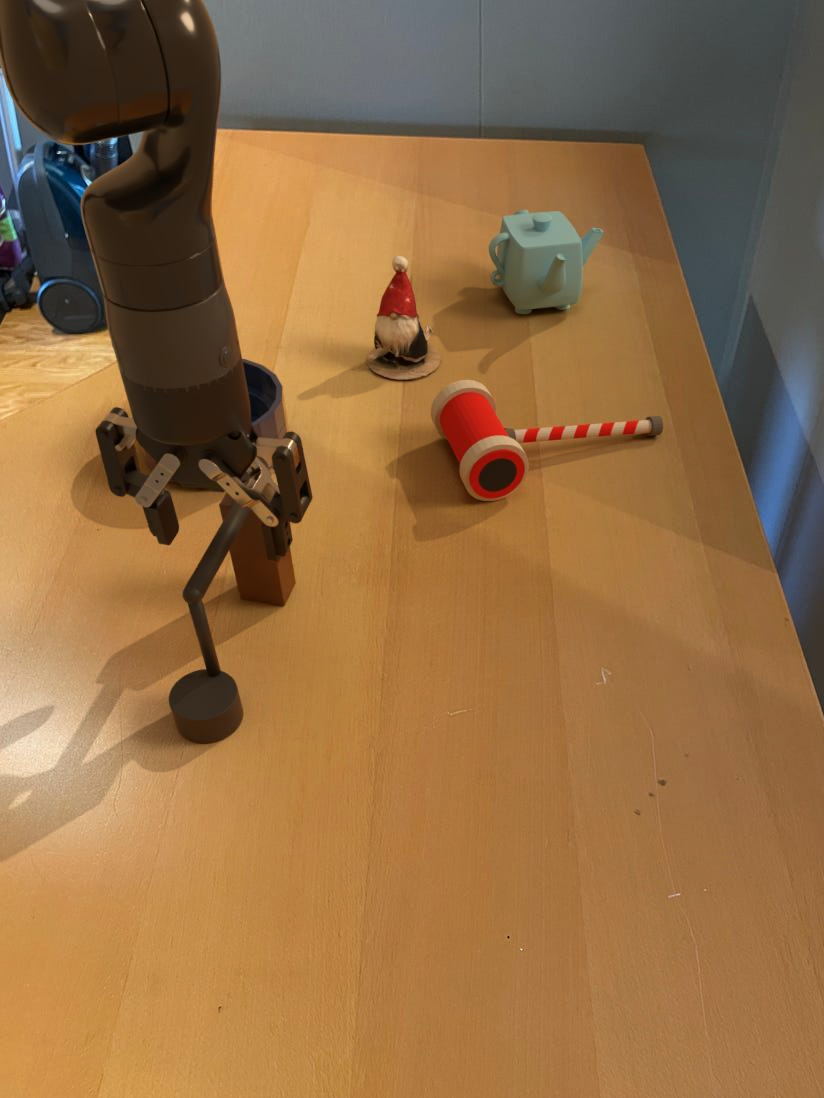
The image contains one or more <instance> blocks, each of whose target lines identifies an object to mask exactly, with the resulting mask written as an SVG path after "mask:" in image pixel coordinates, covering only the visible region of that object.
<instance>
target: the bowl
mask: <svg viewBox="0 0 824 1098" xmlns="http://www.w3.org/2000/svg"><path fill="white" fill-rule="evenodd" d="M242 361H243V366H244V372H245V378H246V383H247V389H248V395H249V400H250V411H251V422H252V425H253V427H254V428H255V430H256V431H257V433H258V434H259V436H260V437H261V438H272V439H282V438H283V436H284V435H285V433H287V432H290V427H289V422H288V421H289V420H288V415H287V413H288V412H287V407H286V400H285V394H284V388H283V387H284V386H283V384H282V383H281V381H280V380H279V377H278V376H277V374H276V373H274V372H273V371H271V369H269V368H267V367H266V366H265V365H263V364H261V363H257V362H255V361H252V360H250V359H246V358H242ZM141 449H142V453H143V456H144V459H145V461H146V464H147V466H148V467H149V468H150V469H151V470H152V471H153V470H154V469H155V467H156V466H157V464H158V463H157V462H156V461H155V460H154V459H153V458H152V457H151V456H150V455H149V454H148V453H147V452H146V451H145V450H144V449H143V448H142V447H141ZM257 457H258V456H257ZM258 458H259V460H260V461H261V462H262V463H263V464H264V465H265V466H266V467H267V468H268V469H269V466H268V464H267V462H266V461H265V460H264V459H263V458H261V457H258ZM248 477H249V474H248V472H247V471H246V472H245V474H244V475H243V476H242V478H241V479H240V481H241V482H244V481H247V479H248ZM169 482H172V483H175V484H178V485H181V483H180V482H178V481H176V480H175V479H173V478H172V477H171V478H170V480H169Z"/></svg>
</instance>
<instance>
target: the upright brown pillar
mask: <svg viewBox="0 0 824 1098" xmlns="http://www.w3.org/2000/svg"><path fill="white" fill-rule="evenodd" d="M242 483H243V482H242ZM243 484H245V482H244V483H243ZM261 494H262V493H261ZM262 497H263V498H264V499H265V500H266V501H267V502H268V503H270V502H269V500H268V499H267V498H266V497H265V496H264V495H263V494H262ZM234 501H235V500H234V499H233V498H232V497H231V496H230V495H229V494H228V493H227V492H225V494H224V496H223V497H222V499H221V501H220V502H219V503H218V504H219V505H218V507H219V511H220V515H221V520H222V521H223V520H224V519H225V517H226V515H227V514H228V512H229V510H230V508H231V507H232V505H233V503H234ZM262 523H263V521H262V520H261V519H260V518H259V517H258V516H257V515H256V514H255V513H254V512H253V511H252V510H251V512H250V514H249V515H248V517H247V519H246V521H245V523H244V525H243V526H242V528H241V530H240V532H239V534H238V535H237V537H236V539H235V541H234V543H233V544H232V546H231V548H230V550H229V555H230V559H231V563H232V569H233V573H234V577H235V582H236V586H237V590H238V595H239V599H240V600H245V601H251V602H257V603H263V604H268V605H269V604H271V605H274V606H275V605H276V606H280V607H281V606H282V607H285V606H286V605H287V602H288V600H289V597H290V596H291V594H292V591H293V590H294V588H295V585H296V583H297V581H296V576H295V575H296V574H295V569H294V563H293V562H294V561H293V556H292V550H291V546H290V547H289V549H288V551H287V553H286V555H285V557H283V556H282V557H281V559H280V561H279V562H278V563H277V562H271V561H268V559H267V553H266V548H265V543H264V537H263V532H262V527H261V525H262Z"/></svg>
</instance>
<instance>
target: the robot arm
mask: <svg viewBox="0 0 824 1098" xmlns="http://www.w3.org/2000/svg"><path fill="white" fill-rule="evenodd" d="M0 69H1V73H2V76H3V79H4V83H5V87H6V89H7V91H8V93H9V96H10V98H11V100H12V101H13V103H14V105H15V107H16V108H17V110H18V111H19V112H20V114H21V115H22V116H23V118H24V119H25V120H27V122H28V123H29V124H30V125H31V126H32V127H34V128H35V129H36V130H38V131H39V132H40V133H42V134H43V135H44V136H46V137H48V138H49V139H51V140H53V141H55V142H58V143H60V144H62V145H67V146H84V145H85V146H86V145H89V144H94V143H100V142H103V141H109V140H112V139H117V138H122V137H126V136H130V135H134V134H138V133H142V135H141V138H140V142H139V144H138V147H137V149H136V151H135V152H134V153H133V154H132V155H131V156H130V157H129V158H128V159H126V160H125V161H124V162H122V163H121V164H119V165H117V166H116V167H114V168H112V169H110V170H109V171H107V172H105V173H104V174H102V175H100V176H98V177H97V178H96V179H95V180H93V181H92V182H91V183H89V185H88V186H86V188H84V189H85V190H84V191H83V193H82V196H81V199H80V215H81V220H82V224H83V228H84V232H85V236H86V240H87V244H88V246H89V250H90V253H91V254H90V255H91V257H92V261H93V265H94V268H95V272H96V275H97V279H98V282H99V287H100V290H101V295H102V298H103V304H104V311H105V320H106V326H107V331H108V335H109V338H110V341H111V346H112V349H113V351H114V357H115V360H116V364H117V367H118V370H119V374H120V377H121V381H122V384H123V388H124V392H125V395H126V399H127V403H128V406H129V409H130V413H131V416H132V417H130V416H129V414H128V413H127V411H126V410H124V409H123V408H122V407H119V406H115V407H112V409H111V410H110V411H109V413H107V414H106V415H105V417H104V418H103V419H102V420H101V421H100V423H99V425H97V427H96V428H95V431H94V433H95V436H96V437H95V438H96V440H97V441H96V442H97V444H98V448H99V452H100V456H101V460H102V463H103V468H104V471H105V476H106V479H107V484H108V488H109V490H110V492H111V493H112V494H113V495H114V496H115V497H120V498H122V497H126V495H127V496H130V497H132V498H134V499H135V502H136V503H137V504H138V505H139V506H141V507H142V510H143V513H144V516H145V520H146V523H147V527H148V529H149V532H150V533H151V535H152V536H153V537H156V539H157V542H158V544H159V545H164V546H170V545H171V544H172V543H173V541H174V540H175V538H176V537H177V535H178V533H179V531H180V523H179V520H178V515H177V511H176V508H175V504H174V501H173V497H172V493H171V490H168V489H165V487H166V485H167V484H168V483H169V482H170V478H171V477H172V478H173V479H175V480H176V481H178V482H180V483H181V484H180V486H181V487H183V488H184V487H185V488H191V489H194V488H196V489H197V488H203V489H206V490H210V491H212V492H217V493H228V494H229V495H230V496H231V497H232V498H233V499H234V500H235V501H236V502H237V503H238V504H239V505H240V506H241V507H249V508H250V509H251V510H252V511H253V512H254V513H255V514H256V515H257V516H258V517H259V518H260V519H261V520H262V521H263V523H262V525H261V527H262V532H263V537H264V543H265V548H266V553H267V559H268V561H271V562H277V563H278V562H279V561H280V559H281V557H282V556H283V557H285V555H286V553H287V551H288V549H289V547H290V548H291V545H292V543H293V539H294V537H293V533H292V526H291V523H292V524H299V523H301V522H302V520H303V518H304V516H305V514H306V513H307V510H308V508H309V506H310V505H311V502H312V501H313V498H314V496H313V491H312V487H311V482H310V476H309V473H308V467H307V463H306V462H307V461H306V458H305V453H304V448H303V447H304V446H303V443H302V438H301V437H300V435H299V434H298V433H296V432H294V431H289V432H287V433H285V435H284V436H283V438H282V439H272V438H261V437H260V436H259V434H258V433H257V431H256V430H255V428H254V427H253V425H252V422H251V411H250V400H249V395H248V389H247V383H246V378H245V372H244V366H243V361H242V359H243V356H242V351H241V344H240V338H239V333H238V326H237V321H236V317H235V316H236V315H235V311H234V308H233V304H232V301H231V297H230V296H229V291H228V290H227V286H226V282H225V277H224V273H223V267H222V262H221V256H220V250H219V249H220V248H219V245H218V244H219V243H218V239H217V234H216V228H215V227H216V226H215V222H214V215H213V192H214V191H213V189H214V174H215V156H216V155H215V154H216V144H217V134H218V125H219V118H220V117H219V116H220V107H221V95H222V94H221V92H222V62H221V54H220V46H219V41H218V36H217V32H216V29H215V26H214V23H213V20H212V18H211V15H210V13H209V10H208V9H207V6H206V5H205V3H204V1H203V0H0ZM136 441H137V443H138V444H139V446H140V447H141V449H142V448H143V449H144V450H145V451H146V452H147V453H148V454H149V455H150V456H151V457H152V458H153V459H154V460H155V461H156V462H157V463H158V464H157V466H156V467H155V469H154V470H153V469H152V471H151V472H150V474H149V475H148V474H146V473H143V472H141V467H140V462H139V459H138V455H137V449H136V445H135V443H136ZM257 456H258V457H261V458H263V459H264V460H265V461H266V462H267V464H268V466H269V469H268V468H267V467H266V466H265V465H264V464H263V463H262V462H261V461H260V460H259V458H258V457H257ZM246 471H247V472H248V474H249V477H250V480H249V482H248V483H247V485H246V486H245V485H244V484H245V483H244V484H243V481H240V479H241V478H242V476H243V475H244V474H245V472H246ZM272 475H275V478H276V479H275V480H276V482H275V481H274V479H272ZM276 483H277V484H276ZM261 493H262V494H263V495H264V496H265V497H266V498H267V499H268V500H269V502H270V503H268V502H267V501H266V500H265V499H264V498H263V497H262V494H261Z"/></svg>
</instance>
